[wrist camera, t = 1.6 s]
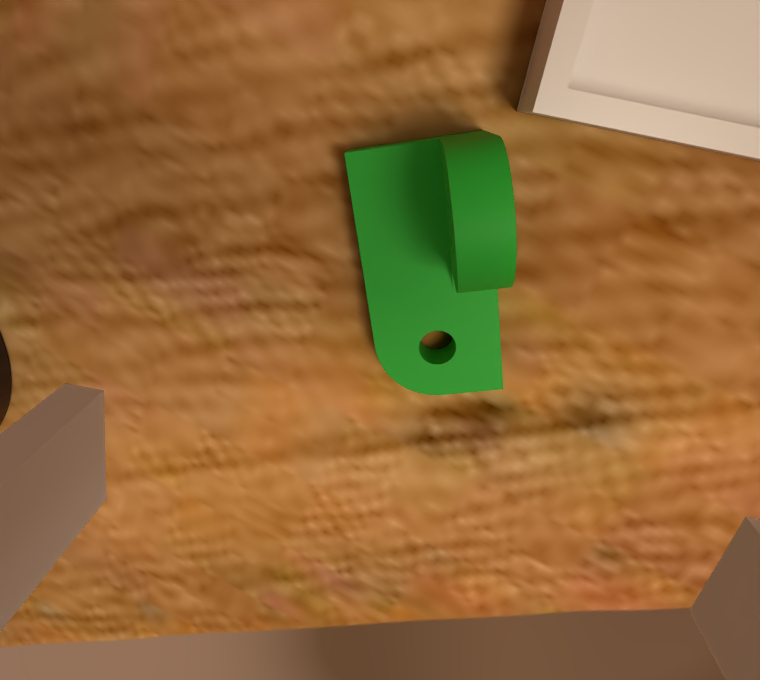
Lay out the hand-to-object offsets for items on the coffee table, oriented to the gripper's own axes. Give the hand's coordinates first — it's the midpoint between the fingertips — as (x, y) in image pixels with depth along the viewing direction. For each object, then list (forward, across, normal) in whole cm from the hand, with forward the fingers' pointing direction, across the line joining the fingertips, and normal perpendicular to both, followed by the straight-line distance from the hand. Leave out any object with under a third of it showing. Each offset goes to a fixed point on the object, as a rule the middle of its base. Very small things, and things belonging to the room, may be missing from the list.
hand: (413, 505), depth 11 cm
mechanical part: (+17, 0, 0) cm, 17 cm away
